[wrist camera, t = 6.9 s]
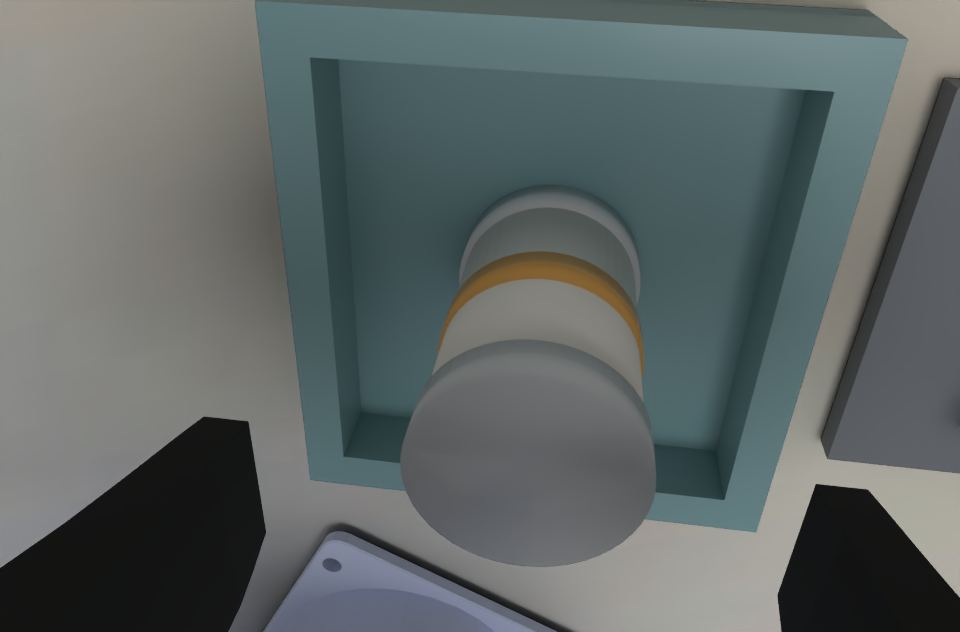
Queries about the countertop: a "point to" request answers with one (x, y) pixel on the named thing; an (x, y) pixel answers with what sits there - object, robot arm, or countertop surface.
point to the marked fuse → (537, 388)
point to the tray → (583, 165)
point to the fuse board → (911, 323)
